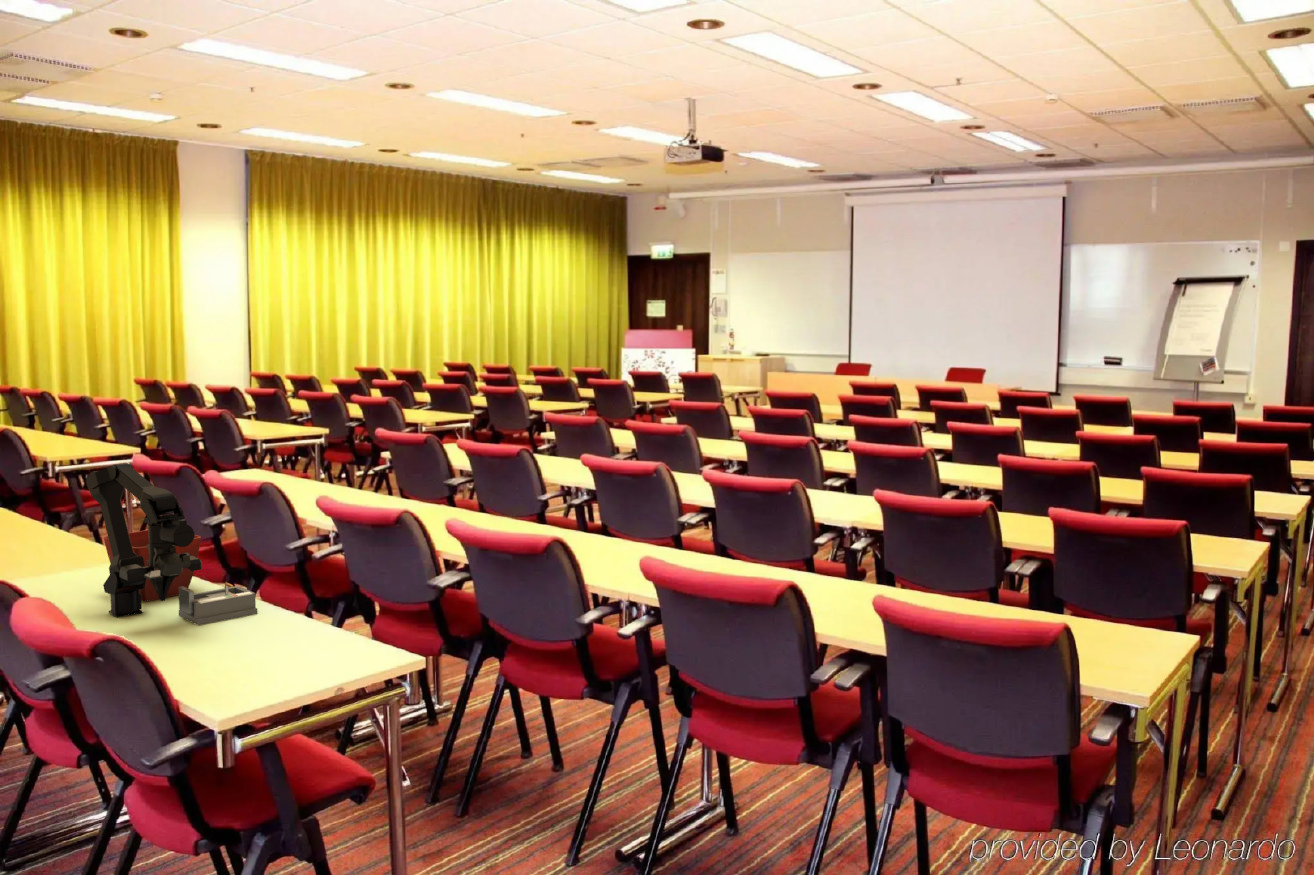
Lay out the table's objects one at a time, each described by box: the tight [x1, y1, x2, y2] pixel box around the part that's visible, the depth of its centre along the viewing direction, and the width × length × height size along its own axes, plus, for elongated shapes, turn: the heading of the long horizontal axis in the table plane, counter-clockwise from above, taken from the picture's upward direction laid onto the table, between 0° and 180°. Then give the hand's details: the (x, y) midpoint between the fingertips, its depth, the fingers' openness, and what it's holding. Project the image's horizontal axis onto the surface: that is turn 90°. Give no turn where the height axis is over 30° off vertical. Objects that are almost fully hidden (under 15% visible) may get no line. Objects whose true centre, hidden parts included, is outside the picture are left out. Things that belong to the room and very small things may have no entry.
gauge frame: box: [178, 585, 258, 626], centre depth 280 cm, size 16×12×6 cm
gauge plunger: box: [178, 582, 234, 615], centre depth 277 cm, size 13×9×7 cm
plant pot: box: [103, 529, 202, 602], centre depth 297 cm, size 19×19×17 cm
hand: (162, 600), depth 269 cm, fingers closed
